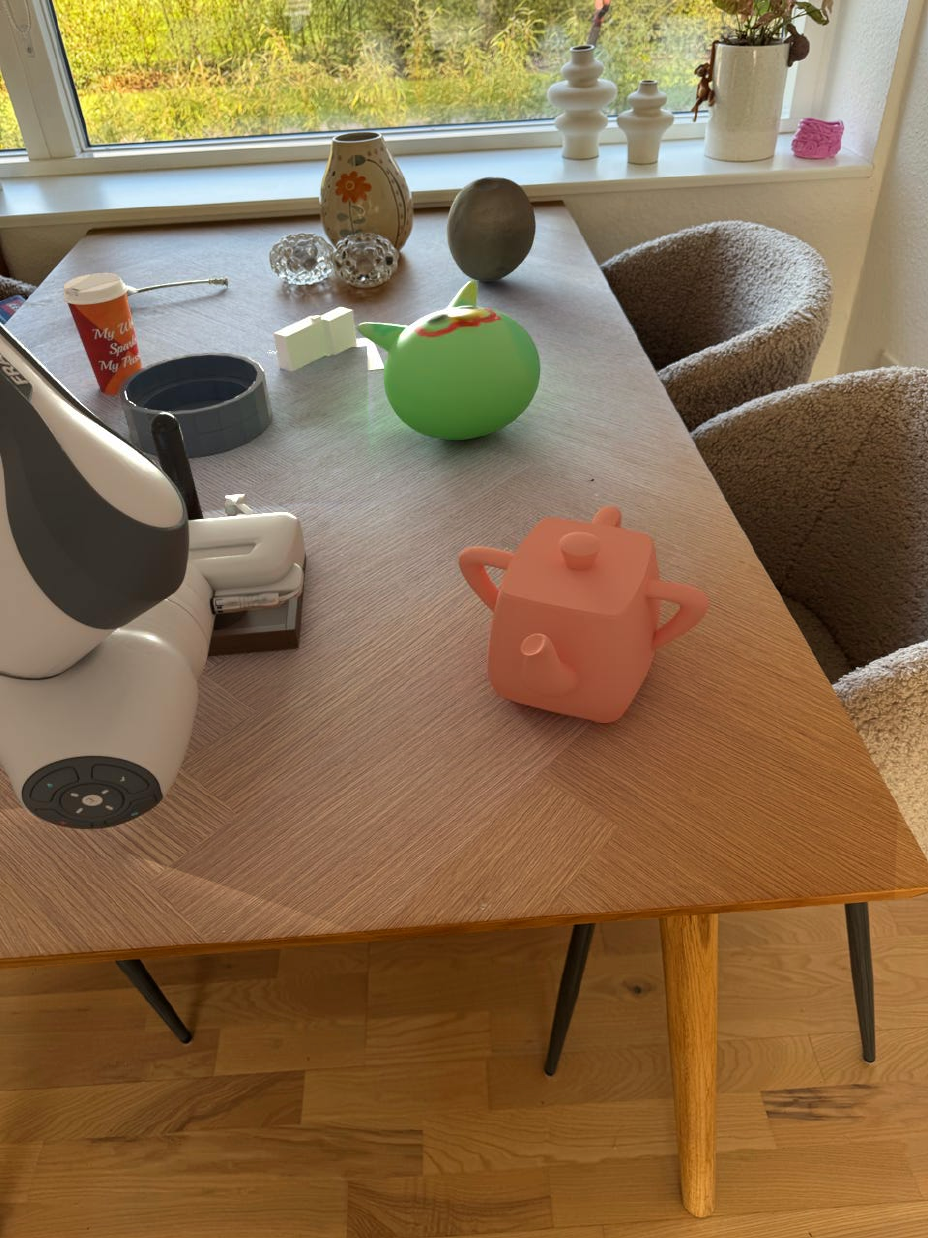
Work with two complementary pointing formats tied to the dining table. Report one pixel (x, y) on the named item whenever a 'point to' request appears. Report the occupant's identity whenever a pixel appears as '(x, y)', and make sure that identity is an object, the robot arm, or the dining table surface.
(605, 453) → the dining table surface
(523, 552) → the teapot
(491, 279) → the grey stone egg
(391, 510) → the dining table surface
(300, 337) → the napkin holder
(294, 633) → the tray
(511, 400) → the green cartoon toy
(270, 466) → the dining table surface
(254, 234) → the dining table surface
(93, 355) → the paper cup
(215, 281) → the soupspoon
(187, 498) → the ladle
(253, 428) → the bowl
